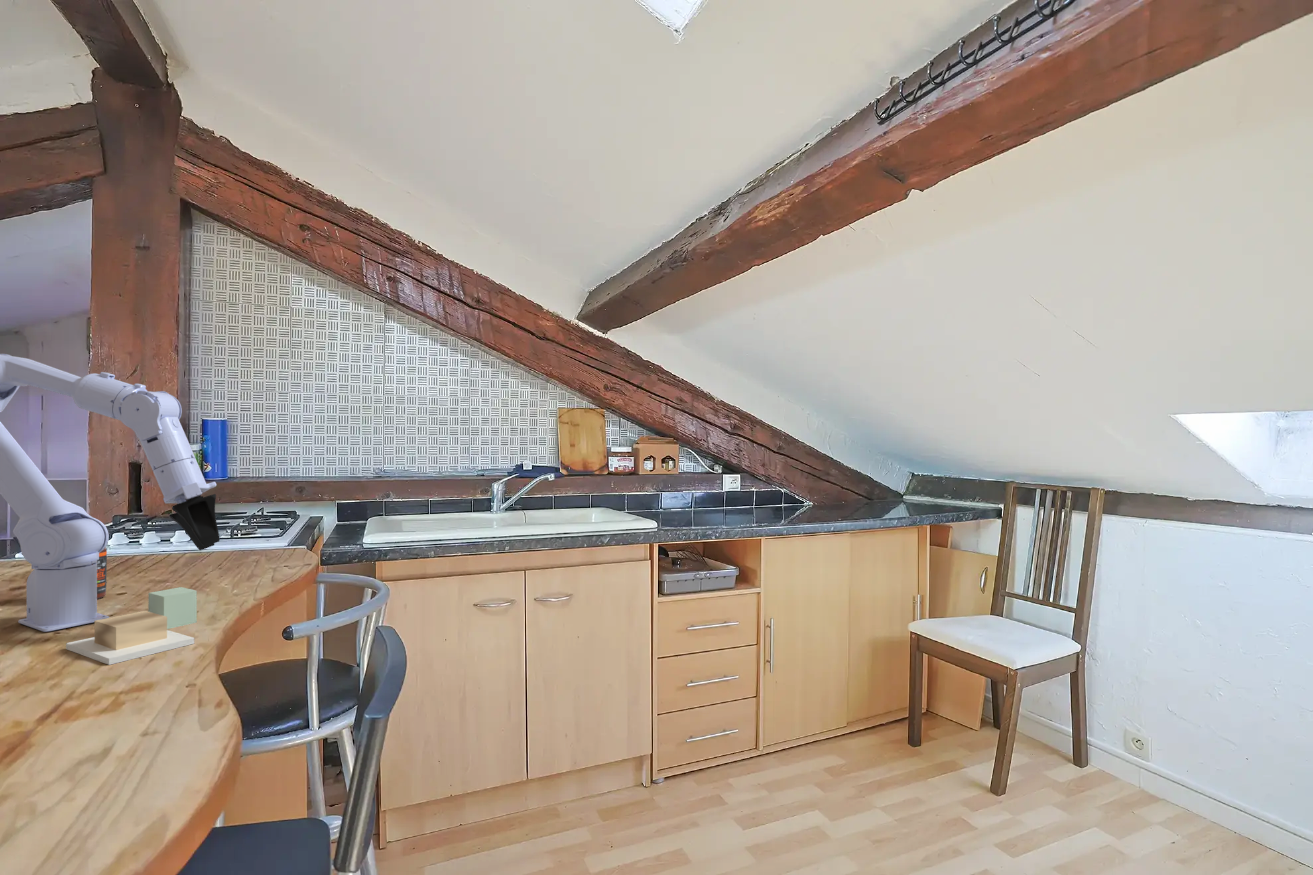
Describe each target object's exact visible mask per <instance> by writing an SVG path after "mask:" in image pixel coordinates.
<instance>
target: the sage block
mask: <svg viewBox="0 0 1313 875" xmlns="http://www.w3.org/2000/svg"><path fill="white" fill-rule="evenodd" d="M197 592H198V590H195V589H192V588H186V587H184V586H183V587H182V586H179V587H174V588H168V589H163V590H158V591H152V592H148V612H152V613H155V614H159V615H163V616H166V617H167V630H170V629H174V628H178V627H183V626H187V625H192V624H196V623H197V622H198V621H197V615H198V613H197V611H198V610H197V609H198V608H197V599H198V598H197V596H198V595H197ZM197 624H198V623H197Z"/></svg>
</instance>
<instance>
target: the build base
mask: <svg viewBox="0 0 1313 875" xmlns="http://www.w3.org/2000/svg"><path fill="white" fill-rule="evenodd" d="M194 644H195V637H193V636H190V635H186V634H183V633H179V632H176V631H172V630H170V629H167V617H166V616H163V615H159V614H155V613H152V612H149V610H148V611H147V610H142V611H137V612H132V613H127V614H122V615H116V616H112V617H109V618H106V619H101V620H96V621H95V622H94V636H93V637H89V638H84V639H80V640H75V641H70V642H67V643H66V644H65V649H66V650H68V651H70V652H73V653H75V654H78V655H81V656H84V657H86V658H89V659H92V660H94V661H97V662H100V663H103V664H106V665H109V666H110V665H113V664H118V663H121V662H126V661H130V660H134V659H139V658H142V657H146V656H150V655H153V654H158V653H163V652H166V651H170V650H174V649H179V648H182V647H186V646H191V645H194Z"/></svg>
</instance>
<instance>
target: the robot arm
mask: <svg viewBox="0 0 1313 875" xmlns="http://www.w3.org/2000/svg"><path fill="white" fill-rule="evenodd" d="M115 377H116V375H115V374H112V373H110V372H105V371H101V372H100V373H95V372H94V373H89V374H86V375H84V376H82V377H81V376H80V375H79V376H78V375H76V374H74V373H70V372H68V371H65V370H61V369H58V368H57V367H56V368H55V367H53V366H50V365H47V364H45V363H42V362H39V361H36V360H33V359H31V358H28V357H27V358H26V357H22V356H21V357H19V356H14V355H13V356H12V355H11V354H7V353H0V413H2V412H3V411H4V410H5V408H6V407H7V405H8V404H9V403H10V402H11V400H12V399H13V397H14V395H15V394H16V393H17V391H18V390H19V388H20V387H28V386H30V387H31V386H32V387H34V388H39V389H42V390H46V391H49V392H53V393H57V394H60V395H63V396H69V397H71V398H72V400H73V402H74V404H75V406H76V407H78V408H79V409H82V410H85V411H89V412H92V413H95V414H98V415H101V416H105V417H107V418H111V419H115V420H118V421H120V422H121V423H122V424H123V425H124V426H126V427H127V428H129V429H131V430H132V431H133V432H134V434H135V436H136V439H138V440H139V442H140V445H141V447H142V449H143V453H144V454H145V456H146V459H147V461H148V464H149V465H150V468H151V470H152V472H153V475H154V477H155V480H156V482H157V484H158V487H159V488H160V491H161V493H162V496H163V498H162V500H163V502H164V504H174V505H172V506H171V510H172V511H173V512H175V513H172V514H169V518H170V519H171V520H173V521H174V522H175V523H177V524H178V525H179V526H180V527H181V528H182V530H184V532H186V534H187V536H188V537H189V538H190V540H191V541H192V543H193V544H194V546H195V547H196V548H197V549H198V550H199V551H202V550H206V549H208V548H211V547H213V546H215V544H216V543H219V542H220V533H219V528H218V524H217V523H218V522H217V517H216V500H217V499H216V498H217V495H216V493H214V494H210V495H207V496H203V494H204V493H205V492H207V491H209V490H210V489H213V488H216V487H217V483H216V481H212V482H209V483H207V482H206V480H205V477H204V475H203V473H202V470H201V468H200V466H199V463H198V461H197V459H196V456H195V454H194V451H193V449H192V447H191V445H190V442H189V439H188V438H187V435H186V432H185V431H184V429H183V426H182V423H181V422H180V419H181V417H182V414H183V413H182V412H183V410H182V408H183V407H182V405H181V402H180V401H179V400H178V399H177V398H176V396H174V395H172V394H171V393H170V394H169V393H168V392H167V391H164V390H161V391H160V390H159V391H150V390H149V391H148V389H146V388H147V386H146V385H145V384H141V383H134V384H132V383H128V382H124V381H121V380H118V379H115ZM0 495H1V497H2V498H3V499H4V500H5V502H6V503H7V504H8V505H9V506H10V508H11V509H12V510H13V512H14V513H15V514H16V515H17V517H18V518H19V519H18V521H17V523H16V524H15V526H14V528H13V530H12V533H13V535H14V537H15V538H17V540H18V543H19V546H20V552H21V554H22V557H23V558H24V560H25V561H27V563H29V564H30V565H31V570H32V571H31V572H30V573H29V575H28V577H27V580H26V618H21V619H19V620H18V622H17V623H18V624H21V625H24V626H27V627H30V628H32V629H36V630H38V631H41V632H44V633H45V632H53V631H58V630H62V629H66V628H68V629H69V628H71V627H77V626H78V627H79V626H81V625H82V626H83V625H86V624H92V623H95V621H96V620H101V619H106V618H110V616H109V615H105V614H103V613H99V612H98V599H97V560H99V553H100V552H101V551H102V550H103V549H104V548H105V547H106V548H107V545H108V542H109V537H110V536H109V530H108V528H107V526H106V525H105V523H103V522H102V521H101V520H99V519H97V518H95V517H93V516H92V515H90V514H88V512H87V511H86V510H85V509H84V507H82V506H79V505H77V504H75V503H72V502H70V501H68V500H65V499H63V497H61V495H60V494H59V493H58V492H57V490H56V489H55V487H53V485H52V484H51V483H50V482H49V480H48V479H47V478H46V477H45V475H44V474H43V473H42V471H41V470H40V469H39V468H38V466H37V465H36V464H35V462H33V460H32V459H31V457H29V455H28V454H27V453H26V451H25V450H24V449H23V448H22V447H21V445H20V444H19V443H18V441H17V440H16V439H15V438H14V437H13V435H12V434H11V432H9V430H8V429H7V428H6V427H5V425H4V424H3V423H2V422H1V421H0Z"/></svg>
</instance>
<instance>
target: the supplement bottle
mask: <svg viewBox="0 0 1313 875" xmlns="http://www.w3.org/2000/svg"><path fill="white" fill-rule="evenodd" d="M107 552H108V550H107V546H106V547H105V548H104V549H103V550H102V551H101V552H100V553H99V560H97V600H100V599H103V598H104V597H105V596H106V595H107V583H108V582H107V574H108V573H107V571H108V570H107V563H108V562H107V561H108V554H107Z"/></svg>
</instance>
